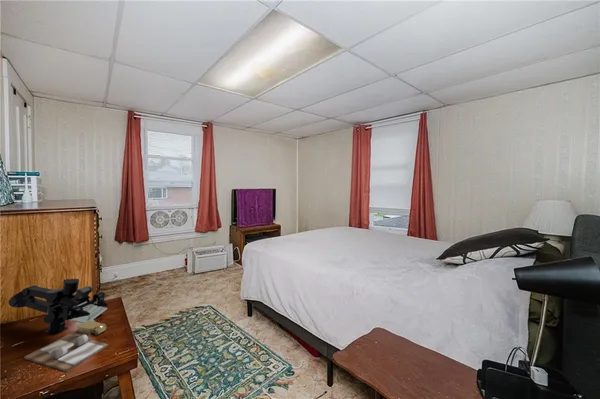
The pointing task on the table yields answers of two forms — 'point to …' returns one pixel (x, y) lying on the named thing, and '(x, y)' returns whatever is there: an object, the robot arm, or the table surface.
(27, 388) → the table surface
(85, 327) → the perfume bottle
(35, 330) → the table surface
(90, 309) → the metal bracket
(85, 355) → the hinge base
